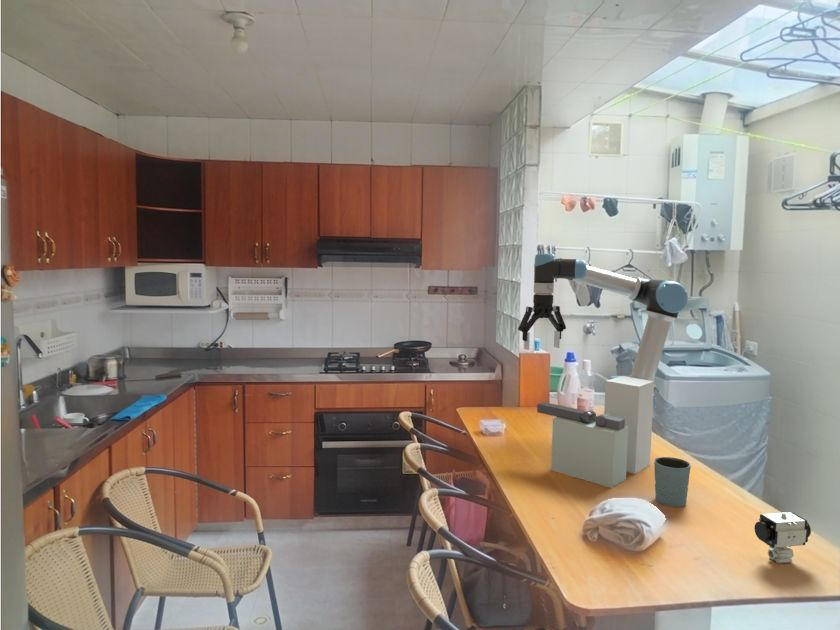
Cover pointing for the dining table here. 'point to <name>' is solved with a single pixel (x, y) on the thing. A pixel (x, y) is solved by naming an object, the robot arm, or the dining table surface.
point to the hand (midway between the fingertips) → (541, 348)
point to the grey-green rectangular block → (591, 449)
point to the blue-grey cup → (671, 481)
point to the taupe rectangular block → (633, 416)
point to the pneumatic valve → (782, 534)
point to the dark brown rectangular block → (567, 412)
